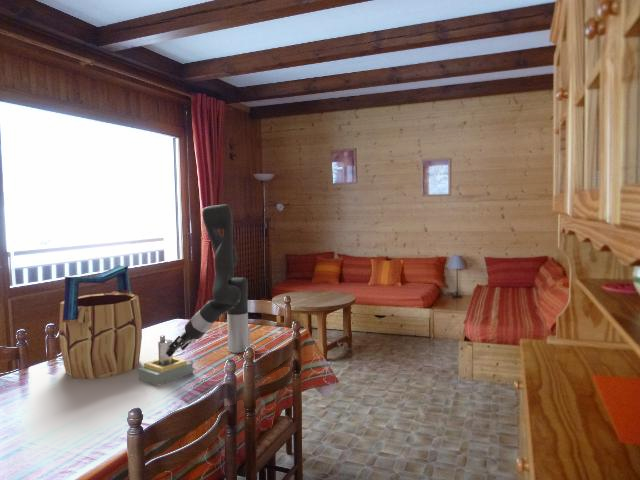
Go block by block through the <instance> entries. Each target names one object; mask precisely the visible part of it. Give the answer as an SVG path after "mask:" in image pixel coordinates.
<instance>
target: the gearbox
mask: <svg viewBox="0 0 640 480" xmlns="http://www.w3.org/2000/svg"><path fill="white" fill-rule="evenodd" d="M193 366H194V361H193V359H188V360H186V359H182V358H178V357H175V356H173V364H170V365H167V366H164V367H162V366H159V358H156V359H154V360H150V361H147V362H144V363H143V366H141V367H139V368H137V375H138V376H137V377H138V380H140V381H143V382H146V383H149V384H152V385H153V386H160V385H163V384H165V383H167V382H171V381H174V380H177V379H179V378H182V377H184V376H188V375H191V374H193V373H194V372H193Z"/></svg>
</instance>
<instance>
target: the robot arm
mask: <svg viewBox="0 0 640 480" xmlns="http://www.w3.org/2000/svg"><path fill="white" fill-rule="evenodd" d="M201 213H202V220H203V223H204V226H205V229H206V232H207V234H208V237H209V240H210V243H211V247H212V251H213V258H214V259H213V262H214V272H215V273H214V280H213V283H212V284H213V285H212V291H211V292H212V297H213V299H211V300H208V301H207V302H206V303H205V304H204V305H202V307H201V308H200V309H199V310H198V311H197V312H195V314H194V315H193V316H192V317H191V318H190V319H189V320H188V321H187V322H186V324H185V325H184V331H183V333H182V334H181V335H178V336H176V338H175V339H174V340H172V344H171V345H169V347H170V349H169V350H168V351H167V352H166V354H167V355H168V356H169V357H170V356H172V355H173V356H174V353H176V352H177V351H178V350H179V349H180V350H182V351H184V350H186V348H188V346H189V345H191V344H192V343H193V342H195V341H196V340H200V339H201V338H202V337H203V336H204V335H205V334H206V333H207V331H209V330H210V328H211V327H212V326H213V325H214V323H215V322H216V321H217V319H219V318H220V317H221V315H223V314H224V313H226V317H227V318H226V319H227V324H226V325H227V350H228V352H229V353H234V354H236V353H237V354H238V353H239V354H240V353H245V352H246V351H245V349H246V347H248V346H250V347H251V329H250V327H249V313H248V311H249V309H248V307H249V306H248V305H249V304H248V301H249V298H248V297H249V293H248V292H249V285H248V284H249V283H248V279H247V278H246V277H234V276H235V267H236V266H237V264H238V260H239V259H238V258H239V257H238V253H237V249H236V245H234V219H233V217H234V216H233V211H232V209H231V206H230V204H226V203H224V204H223V203H222V204H217V205H216V204H215V205H209V206H206V207H204V208H203V209H202V212H201ZM220 229H224V234H221V232H220V231H219V230H220ZM244 351H245V352H244Z"/></svg>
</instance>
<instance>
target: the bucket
mask: <svg viewBox="0 0 640 480" xmlns="http://www.w3.org/2000/svg"><path fill="white" fill-rule="evenodd" d="M115 278H116V283H117V290H118V291H112V292H108V293H107V292H105V293H94V294H85V295H81V296H79V290H80V289H79V287H80V284H83V283H84V284H91V283H92V284H105V283H106V282H109V281H110V280H112V279H115ZM64 283H65V286H64V298H63V301H61V302H60V303H59V315H58V316H59V320H58V340H59V348H60V354H61V358H62V362H63V366H64V367H63V368H64V371H65V374H67V375H68V376H69V375H70V378H72V379H79V378H81V379H82V380H96V379H102V378H110V377H115V376H119V375H122V374H124V373H127V372H129V371H132V370H134V369H135V368H136V367H138V366H137V365H138V364H139V363H140V358H141V357H140V356H141V347H142V338H143V335H142V334H143V329H142V328H143V322H142V321H143V320H142V315H141V314H142V313H141V307H140V306H141V305H140V299H139V295H136V294H133V291H131V286H130V277H129V266H128V265H118V266H117V265H116V266H115V267H113V268H110V269H108V270H106V271H103V272H101V273H98V274H96V275H94V276H91V277H89V276H88V277H87V276H64ZM81 379H80V380H81Z"/></svg>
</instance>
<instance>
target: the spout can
mask: <svg viewBox="0 0 640 480" xmlns="http://www.w3.org/2000/svg"><path fill="white" fill-rule="evenodd" d="M172 342H173V340H172V339H166V335H160V336H159V341H158V342H157V345H158V346H157V347H158V359H159V366H162V367H164V366H167V365H170V364H173V357H174V354H173V355H172V356H170V357H169V356H168V355H167V354H166V352H167V351H168V350H169V349H170V347H169V345H171V344H172Z"/></svg>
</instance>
